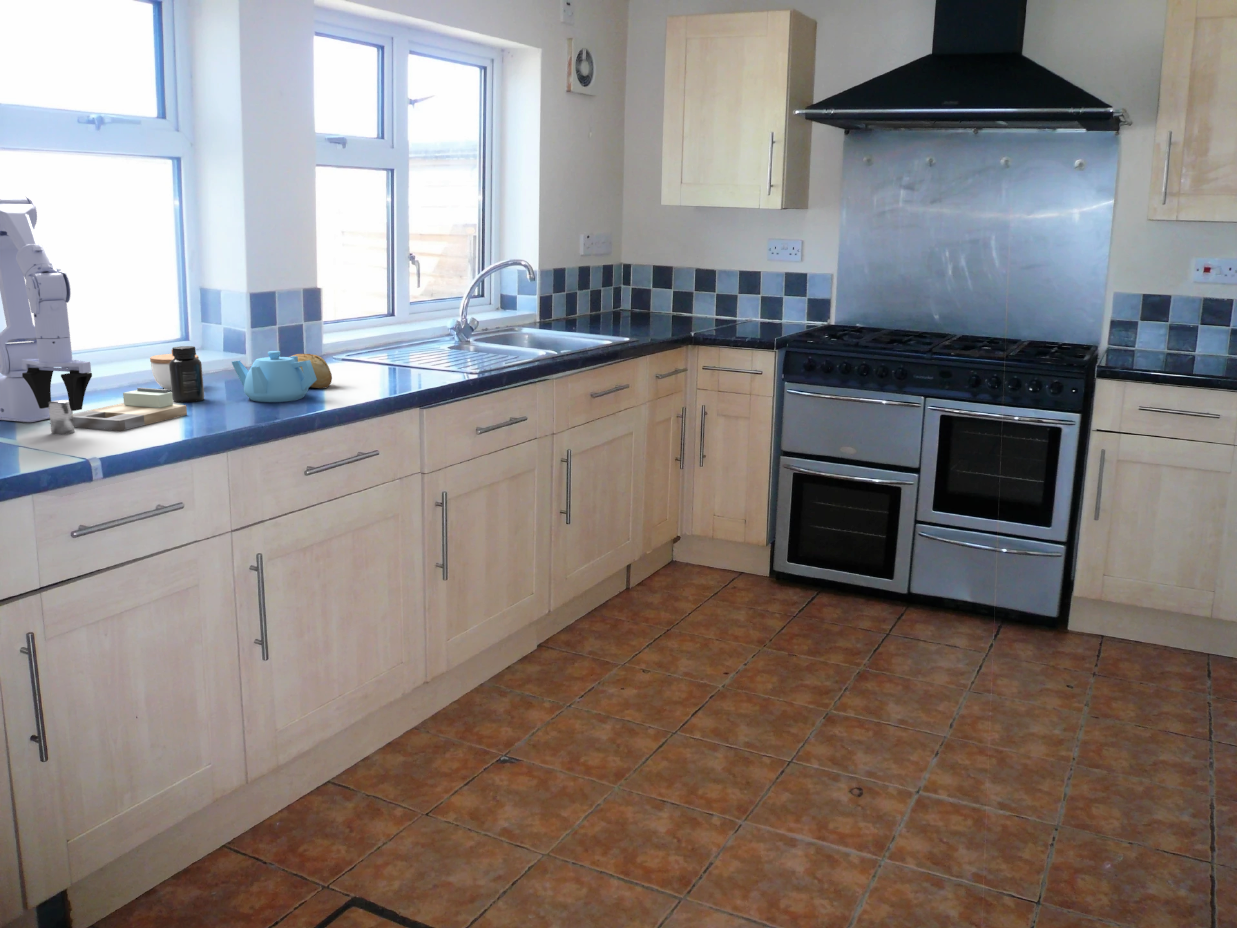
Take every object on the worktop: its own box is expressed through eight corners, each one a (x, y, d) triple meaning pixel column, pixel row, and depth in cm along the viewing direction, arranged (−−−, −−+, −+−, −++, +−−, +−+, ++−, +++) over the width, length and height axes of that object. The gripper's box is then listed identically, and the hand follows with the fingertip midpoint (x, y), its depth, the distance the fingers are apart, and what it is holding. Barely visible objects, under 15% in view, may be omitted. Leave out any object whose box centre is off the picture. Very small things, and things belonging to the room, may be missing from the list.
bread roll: (287, 382, 279) (285, 350, 277) (341, 385, 275) (340, 353, 273) (265, 388, 270) (263, 355, 268) (321, 391, 266) (319, 357, 264)
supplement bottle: (208, 398, 254) (204, 345, 252) (198, 403, 248) (194, 349, 245) (178, 398, 254) (174, 345, 252) (167, 403, 248) (162, 348, 245)
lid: (124, 405, 232) (122, 389, 231) (138, 402, 236) (136, 387, 235) (159, 407, 229) (158, 392, 228) (173, 404, 233) (171, 389, 232)
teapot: (251, 406, 245) (248, 357, 242) (232, 396, 257) (229, 349, 255) (320, 400, 253) (317, 352, 251) (298, 391, 265) (295, 346, 263)
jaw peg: (46, 433, 213) (43, 402, 212) (63, 430, 217) (59, 399, 215) (63, 435, 212) (59, 403, 210) (79, 431, 215) (76, 400, 214)
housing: (62, 426, 220) (61, 416, 220) (132, 410, 238) (131, 401, 237) (120, 431, 216) (119, 420, 215) (187, 414, 233) (186, 405, 233)
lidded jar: (142, 390, 264) (139, 351, 262) (172, 384, 274) (169, 346, 272) (181, 393, 261) (178, 353, 259) (210, 386, 271) (207, 348, 269)
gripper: (5, 338, 209) (13, 409, 212) (67, 341, 204) (74, 414, 207) (36, 334, 215) (43, 404, 218) (96, 337, 211) (103, 408, 214)
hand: (60, 408), depth 213 cm, fingers open, 7 cm apart
